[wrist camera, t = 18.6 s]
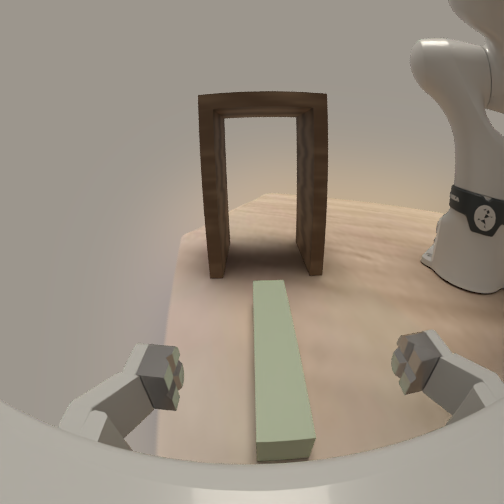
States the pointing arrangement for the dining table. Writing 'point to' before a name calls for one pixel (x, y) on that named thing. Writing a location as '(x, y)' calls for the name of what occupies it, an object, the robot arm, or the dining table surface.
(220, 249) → the stand
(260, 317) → the batten
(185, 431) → the dining table surface
